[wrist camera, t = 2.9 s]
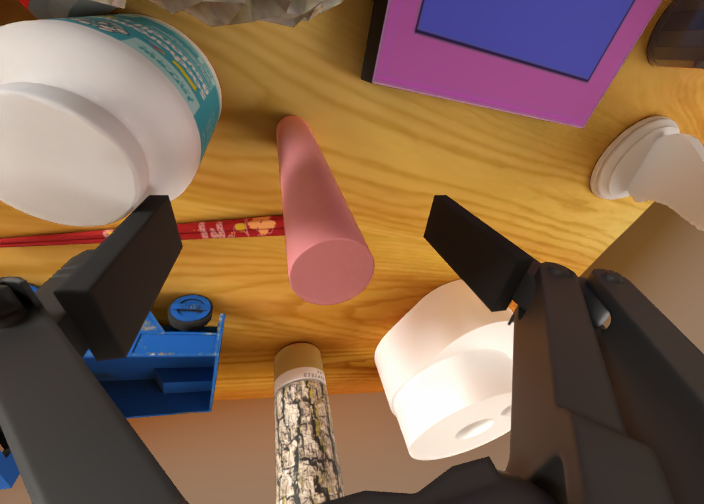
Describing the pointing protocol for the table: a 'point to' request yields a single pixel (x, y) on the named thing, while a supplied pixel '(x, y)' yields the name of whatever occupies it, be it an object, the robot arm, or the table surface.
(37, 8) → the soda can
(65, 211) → the pill bottle
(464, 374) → the container
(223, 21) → the coral
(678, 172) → the chess piece
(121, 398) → the toy vehicle
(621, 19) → the book
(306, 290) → the pink long cylinder
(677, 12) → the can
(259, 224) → the chopstick
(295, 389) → the bark covered wood stump
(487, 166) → the table surface
